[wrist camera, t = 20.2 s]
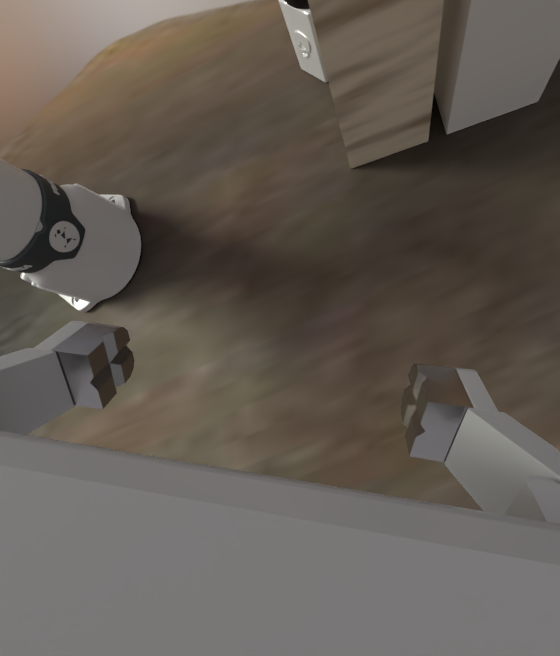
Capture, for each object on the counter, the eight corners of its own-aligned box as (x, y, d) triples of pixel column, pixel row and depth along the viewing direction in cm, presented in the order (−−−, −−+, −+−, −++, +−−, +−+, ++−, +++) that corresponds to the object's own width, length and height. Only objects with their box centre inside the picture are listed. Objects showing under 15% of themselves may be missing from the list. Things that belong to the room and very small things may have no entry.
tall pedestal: (428, 141, 40) (467, -220, 16) (350, 169, 43) (281, -103, 18) (411, 82, 42) (424, -329, 17) (337, 113, 44) (257, -206, 20)
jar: (288, 64, 48) (253, -32, 36) (328, 12, 47) (304, -103, 35) (337, 92, 45) (315, -3, 33) (381, 37, 44) (373, -80, 32)
